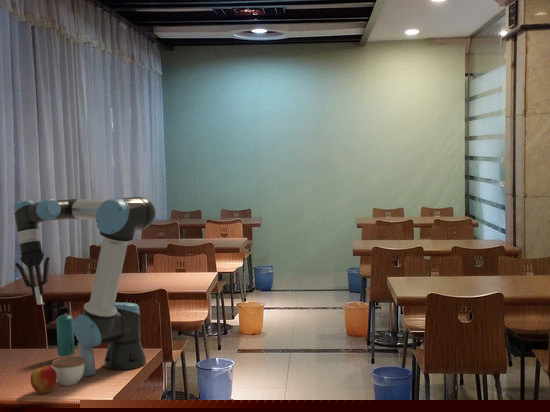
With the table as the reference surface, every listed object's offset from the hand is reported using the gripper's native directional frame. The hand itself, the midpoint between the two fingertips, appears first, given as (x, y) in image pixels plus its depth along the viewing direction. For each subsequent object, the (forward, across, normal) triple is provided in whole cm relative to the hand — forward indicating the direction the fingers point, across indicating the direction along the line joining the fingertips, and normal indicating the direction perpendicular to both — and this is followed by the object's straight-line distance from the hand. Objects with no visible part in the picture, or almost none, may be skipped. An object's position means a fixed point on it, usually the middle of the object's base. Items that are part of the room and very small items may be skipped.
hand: (40, 304), depth 271 cm
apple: (+30, -3, +30) cm, 43 cm away
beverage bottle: (+22, -4, -13) cm, 26 cm away
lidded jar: (+29, -10, +21) cm, 37 cm away
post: (+29, -15, +12) cm, 34 cm away
